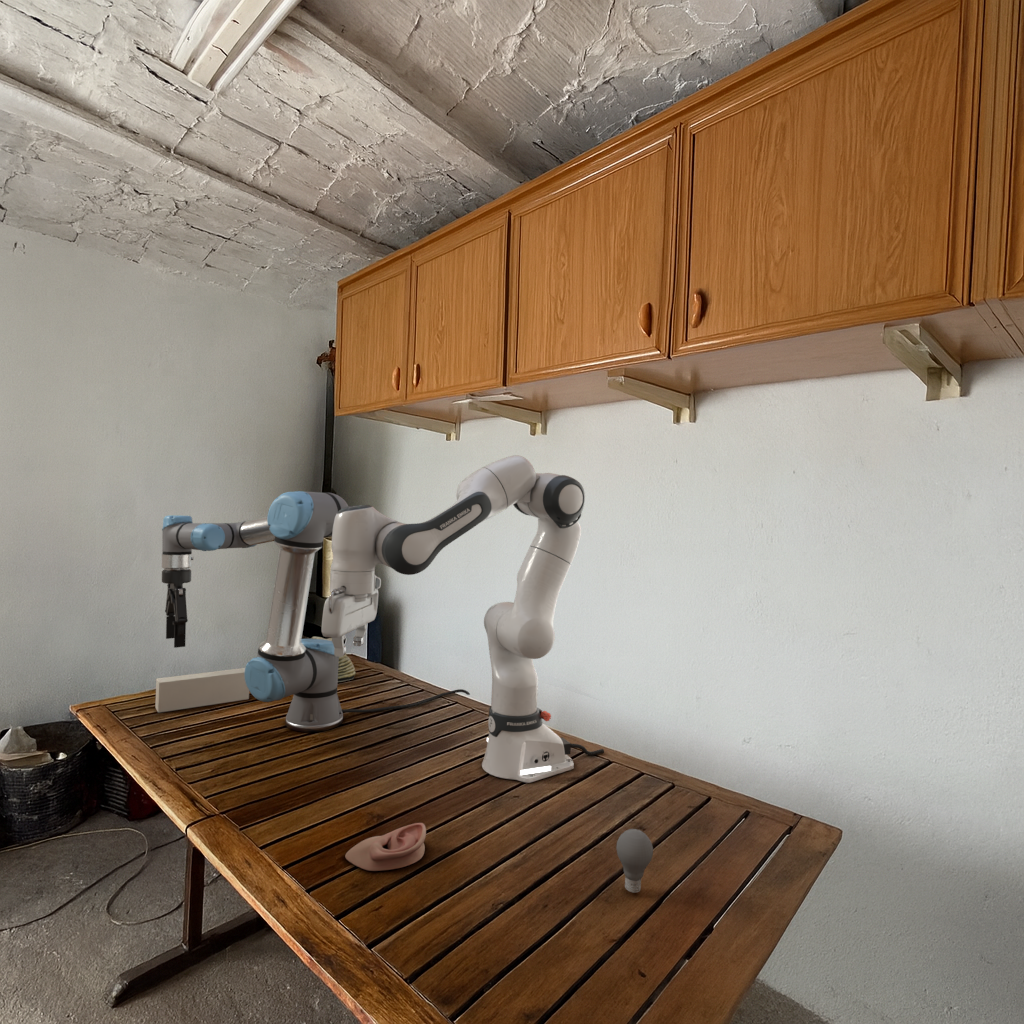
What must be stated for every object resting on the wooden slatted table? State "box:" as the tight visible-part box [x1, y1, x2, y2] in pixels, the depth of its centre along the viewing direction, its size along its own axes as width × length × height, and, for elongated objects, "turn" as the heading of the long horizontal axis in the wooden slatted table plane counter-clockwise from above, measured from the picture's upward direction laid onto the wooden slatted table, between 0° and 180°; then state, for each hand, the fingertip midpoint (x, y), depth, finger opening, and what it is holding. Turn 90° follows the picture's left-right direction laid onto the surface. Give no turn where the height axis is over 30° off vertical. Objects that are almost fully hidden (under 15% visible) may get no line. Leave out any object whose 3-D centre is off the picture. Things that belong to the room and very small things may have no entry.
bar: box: [154, 667, 250, 713], centre depth 188 cm, size 25×5×8 cm, turn 128°
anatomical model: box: [344, 822, 427, 872], centre depth 113 cm, size 13×4×12 cm
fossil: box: [310, 636, 357, 683], centre depth 216 cm, size 9×18×15 cm, turn 132°
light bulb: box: [615, 828, 654, 894], centre depth 106 cm, size 6×6×10 cm
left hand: (175, 642), depth 183 cm, fingers open, 13 cm apart
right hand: (349, 650), depth 130 cm, fingers open, 8 cm apart
